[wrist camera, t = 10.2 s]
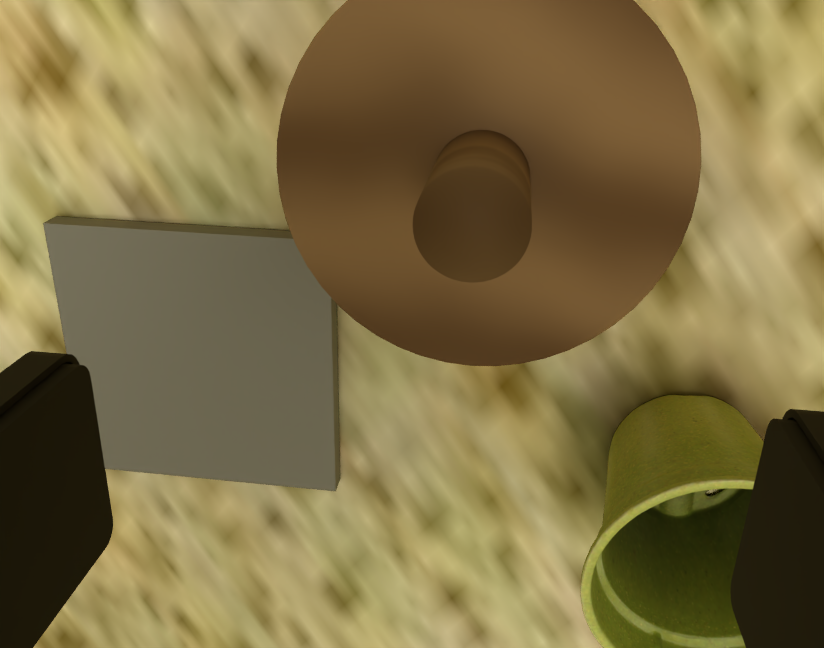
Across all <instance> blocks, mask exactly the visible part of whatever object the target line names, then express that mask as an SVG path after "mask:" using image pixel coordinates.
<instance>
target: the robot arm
mask: <svg viewBox="0 0 824 648" xmlns="http://www.w3.org/2000/svg"><path fill="white" fill-rule="evenodd" d="M112 529H113V517H112V511H111V504H110V498H109V491H108V485H107V478H106V472H105V465H104V459H103V452H102V446H101V440H100V433H99V427H98V420H97V414H96V407H95V401H94V394H93V388H92V381H91V376H90V372H89V370H88V368H87V367H86V366H84V365H80V364H79V362H78V360H77V358H76V357H75V356H73V355H72V354H60V353H47V352H34V351H31V352H29V353H27V354H25V355H24V356H22V357H21V358H20V359H18V360H17V361H16V362H14V363H13V364H12V365H10V366H9V367H8V368H6V369H5V370H4V371H2V372H1V373H0V648H33V647H34V645H35V644H36V643H37V641H38V640H39V639H40V637H41V636H42V634H43V633H44V632H45V630H46V629H47V628H48V626H49V625H50V624H51V622H52V621H53V619H54V618H55V617H56V615H57V614H58V613H59V611H60V610H61V608H62V607H63V606H64V604H65V603H66V602H67V600H68V599H69V597H70V596H71V595H72V593H73V592H74V591H75V589H76V588H77V587H78V585H79V584H80V582H81V581H82V580H83V578H84V577H85V576H86V574H87V573H88V571H89V570H90V569H91V567H92V566H93V565H94V563H95V562H96V560H97V559H98V558H99V556H100V555H101V554H102V552H103V551H104V550H105V548H106V547H107V545H108V543H109V541H110V538H111V534H112ZM730 594H731V604H732V609H733V612H734V615H735V618H736V621H737V624H738V626H739V629H740V632H741V635H742V638H743V640H744V643H745V646H746V648H824V412H820V411H807V410H794V409H790V410H788V411H787V412H786V413H785V415H784V416H783V419H772V420H771V421H770V423H769V425H768V427H767V431H766V435H765V439H764V443H763V448H762V452H761V456H760V460H759V465H758V469H757V473H756V477H755V482H754V486H753V490H752V494H751V499H750V503H749V507H748V512H747V516H746V520H745V524H744V529H743V533H742V537H741V541H740V546H739V550H738V554H737V558H736V563H735V567H734V571H733V575H732V580H731V589H730Z"/></svg>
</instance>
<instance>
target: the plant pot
mask: <svg viewBox="0 0 824 648" xmlns="http://www.w3.org/2000/svg"><path fill="white" fill-rule="evenodd" d="M763 443H764V442H763V440H762V439H761V438H760V437H759V435H758V434H757V433H756V431H755V430H754V429H753V428H752V426H751V425H750V424H749V422H748V421H747V420H746V419H745V417H744V416H743V415H742V414H741V413H740V412H739V411H737V410H736V409H735V408H734V407H732V406H731V405H729V404H727V403H725V402H724V401H722V400H719V399H716V398H714V397H710V396H681V395H667V396H663V397H659V398H656V399H653V400H651V401H649V402H647V403H645V404H643V405H641V406H639V407H638V408H636V409H635V410H634V411H632V412H631V413H630V414H629V415H628V416H627V417H626V418H625V419H624V420H623V421H622V422H621V424H620V425H619V426H618V428H617V430H616V431H615V433H614V436H613V438H612V441H611V445H610V450H609V457H608V468H607V483H606V495H605V505H604V515H603V524H602V527H601V529H600V531H599V534H598V536H597V538H596V540H595V541H594V543H593V544H592V546H591V548H590V550H589V553H588V555H587V557H586V560H585V563H584V566H583V571H582V576H581V595H580V596H581V604H582V608H583V613H584V616H585V619H586V621H587V624H588V626H589V628H590V630H591V632H592V633H593V635H594V637H595V638H596V639H597V641H598V642H599V643H600V645H601V646H602V647H603V648H746V646H745V643H744V640H743V638H742V635H741V632H740V629H739V626H738V624H737V621H736V618H735V615H734V612H733V609H732V604H731V594H730V589H731V580H732V575H733V571H734V567H735V563H736V558H737V554H738V550H739V546H740V541H741V537H742V533H743V529H744V524H745V520H746V516H747V512H748V507H749V503H750V499H751V494H752V490H753V486H754V482H755V477H756V473H757V469H758V465H759V460H760V456H761V452H762V448H763ZM712 489H723V490H722V491H720V492H719V493H717V494H715V495H713V496H707V495H705V493H706V492H707V491H709V490H712Z"/></svg>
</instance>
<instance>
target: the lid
mask: <svg viewBox="0 0 824 648" xmlns="http://www.w3.org/2000/svg"><path fill="white" fill-rule="evenodd" d="M700 169H701V138H700V128H699V123H698V117H697V111H696V105H695V102H694V99H693V95H692V92H691V89H690V86H689V83H688V80H687V77H686V75H685V73H684V71H683V69H682V66H681V64H680V62H679V60H678V58H677V56H676V54H675V52H674V50H673V49H672V47H671V46H670V44H669V43H668V41H667V40H666V38H665V37H664V35H663V34H662V32H661V31H660V29H659V28H658V26H657V25H656V24H655V23H654V22H653V21H652V20H651V18H650V17H649V16H648V15H647V14H646V13H645V12H644V11H643V10H642V9H641V8H640V7H639V5H638V4H637V3H636V2H635V1H633V0H348V1H347V2H345V3H344V4H343V5H342V6H341V7H340V8H339V9H338V10H337V11H336V12H335V13H334V14H333V15H332V16H331V17H330V19H329V20H328V21H327V22H326V24H325V25H324V26H323V27H322V28H321V30H320V31H319V32H318V33H317V35H316V36H315V37H314V39H313V41H312V42H311V44H310V46H309V47H308V49H307V51H306V52H305V54H304V55H303V57H302V59H301V60H300V62H299V65H298V67H297V69H296V72H295V74H294V76H293V79H292V81H291V83H290V85H289V88H288V91H287V95H286V99H285V102H284V106H283V109H282V113H281V118H280V125H279V132H278V139H277V174H278V183H279V192H280V197H281V201H282V205H283V209H284V214H285V218H286V221H287V223H288V226H289V229H290V231H291V234H292V237H293V239H294V242H295V244H296V246H297V248H298V250H299V252H300V254H301V256H302V257H303V259H304V261H305V263H306V265H307V267H308V268H309V269H310V271H311V272H312V274H313V275H314V277H315V278H316V279H317V281H318V282H319V284H320V285H321V287H322V288H323V289H324V290H325V291H326V292H327V293H328V294H329V296H330V297H331V298H332V299H333V300H334V301H335V302H336V303H337V305H339V306H340V307H341V308H342V309H343V310H344V311H345V312H346V313H348V314H349V315H350V316H351V317H352V318H353V319H354V320H356V321H357V322H358V323H360V324H361V325H362V326H364V327H365V328H367V329H368V330H370V331H371V332H373V333H374V334H376V335H377V336H379V337H381V338H383V339H385V340H386V341H388V342H390V343H392V344H394V345H396V346H398V347H400V348H403V349H405V350H408V351H410V352H413V353H415V354H418V355H421V356H424V357H428V358H432V359H436V360H439V361H443V362H449V363H456V364H463V365H471V366H501V365H511V364H521V363H525V362H530V361H535V360H539V359H544V358H547V357H550V356H553V355H556V354H559V353H562V352H565V351H568V350H570V349H572V348H574V347H576V346H578V345H580V344H582V343H585V342H587V341H589V340H591V339H593V338H594V337H596V336H597V335H599V334H600V333H602V332H604V331H605V330H607V329H608V328H610V327H611V326H613V325H614V324H616V323H617V322H618V321H619V320H620V319H622V318H623V317H624V316H625V315H626V314H628V313H629V312H630V311H631V310H633V309H634V308H635V307H636V306H637V305H638V303H639V302H640V301H641V300H642V299H643V298H644V297H645V296H646V295H647V294H648V293H649V292H650V291H651V290H652V289H653V287H654V286H655V285H656V283H657V282H658V280H659V279H660V278H661V276H662V275H663V274H664V272H665V271H666V270H667V268H668V267H669V265H670V263H671V261H672V259H673V258H674V256H675V254H676V252H677V250H678V249H679V247H680V245H681V243H682V240H683V238H684V235H685V233H686V230H687V228H688V225H689V223H690V220H691V217H692V213H693V209H694V205H695V201H696V197H697V193H698V187H699V178H700Z"/></svg>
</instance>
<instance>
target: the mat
mask: <svg viewBox="0 0 824 648" xmlns="http://www.w3.org/2000/svg"><path fill="white" fill-rule="evenodd" d="M43 225H44V230H45V236H46V241H47V247H48V252H49V258H50V263H51V269H52V274H53V280H54V285H55V291H56V297H57V302H58V308H59V313H60V319H61V324H62V330H63V335H64V341H65V346H66V352H67V354H72V355H73V356H75V357H76V358H77V360H78V362H79V364H80V365H84V366H86V367H87V368H88V370H89V372H90V376H91V381H92V388H93V394H94V401H95V407H96V414H97V420H98V427H99V433H100V440H101V446H102V452H103V459H104V465H105V469H113V470H123V471H134V472H144V473H154V474H164V475H174V476H185V477H195V478H205V479H215V480H225V481H236V482H246V483H256V484H266V485H276V486H287V487H297V488H307V489H317V490H327V491H336V489H337V486H338V483H339V480H340V442H339V392H338V342H337V303H336V302H335V301H334V300H333V299H332V298H331V297H330V296H329V294H328V293H327V292H326V291H325V290H324V289H323V288H322V287H321V285H320V284H319V282H318V281H317V279H316V278H315V277H314V275H313V274H312V272H311V271H310V269H309V268H308V267H307V265H306V263H305V261H304V259H303V257H302V256H301V254H300V252H299V250H298V248H297V246H296V244H295V242H294V239H293V237H292V234H291V231H287V230H271V229H255V228H238V227H222V226H206V225H190V224H174V223H157V222H141V221H125V220H109V219H92V218H76V217H60V216H56V217H54V218H52V219H50V220H48V221H47V222H45V223H43Z"/></svg>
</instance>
